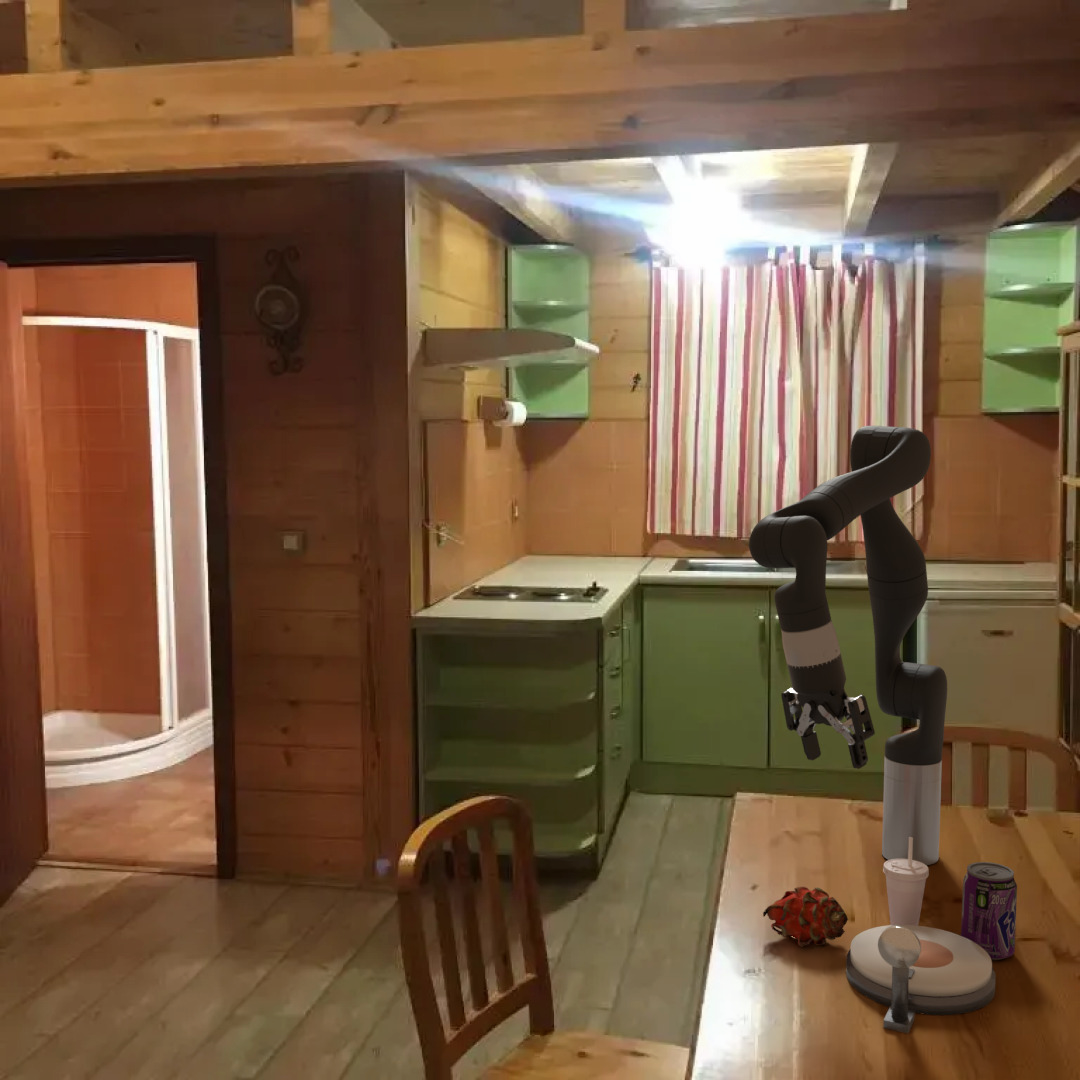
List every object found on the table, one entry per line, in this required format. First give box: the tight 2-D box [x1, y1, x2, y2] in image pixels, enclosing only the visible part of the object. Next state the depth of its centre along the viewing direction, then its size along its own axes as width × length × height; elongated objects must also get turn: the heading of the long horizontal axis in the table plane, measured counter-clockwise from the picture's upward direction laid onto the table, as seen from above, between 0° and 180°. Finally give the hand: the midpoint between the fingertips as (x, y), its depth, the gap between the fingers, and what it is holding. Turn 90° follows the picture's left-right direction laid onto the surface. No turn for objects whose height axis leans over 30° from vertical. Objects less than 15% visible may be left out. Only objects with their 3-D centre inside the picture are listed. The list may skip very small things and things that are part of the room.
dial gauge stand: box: [878, 925, 921, 1034], centre depth 153 cm, size 5×5×13 cm
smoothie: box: [882, 837, 930, 926], centre depth 180 cm, size 6×6×14 cm
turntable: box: [850, 924, 993, 997], centre depth 165 cm, size 18×18×2 cm
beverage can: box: [960, 861, 1018, 961], centre depth 172 cm, size 7×7×12 cm
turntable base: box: [845, 948, 996, 1016], centre depth 165 cm, size 19×19×2 cm
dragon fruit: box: [762, 886, 849, 948], centre depth 177 cm, size 8×8×12 cm
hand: (836, 762), depth 175 cm, fingers open, 8 cm apart
